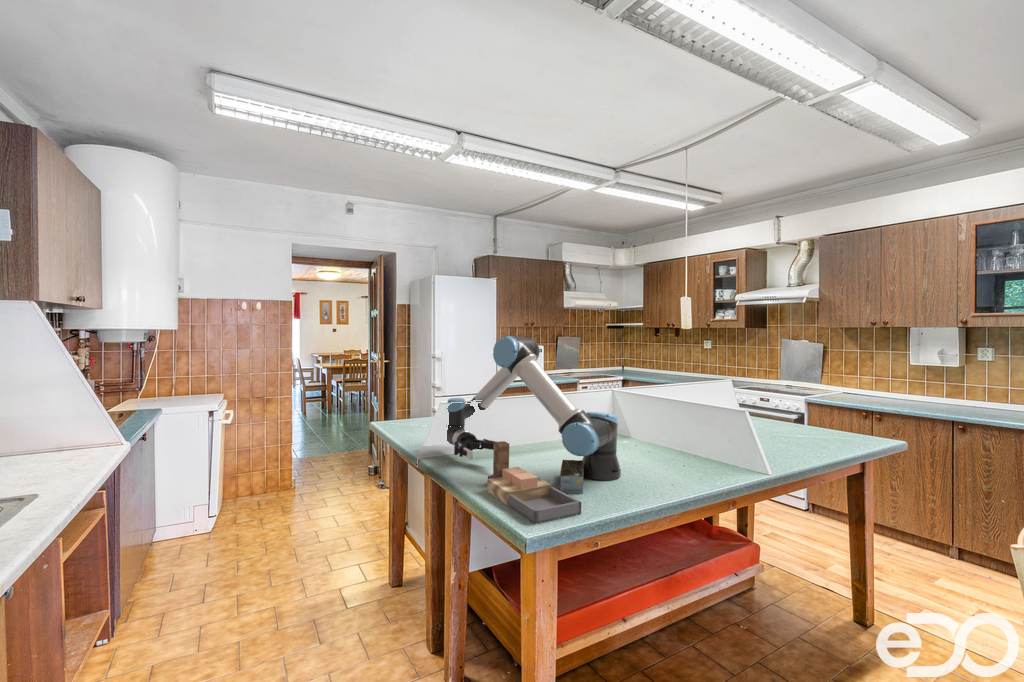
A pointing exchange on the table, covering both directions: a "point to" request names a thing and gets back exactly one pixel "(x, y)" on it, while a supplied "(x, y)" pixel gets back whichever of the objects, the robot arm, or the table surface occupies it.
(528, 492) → the board
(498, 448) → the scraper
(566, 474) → the beverage carton
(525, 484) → the tile front
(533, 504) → the tray
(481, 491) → the table surface
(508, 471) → the tile rear
